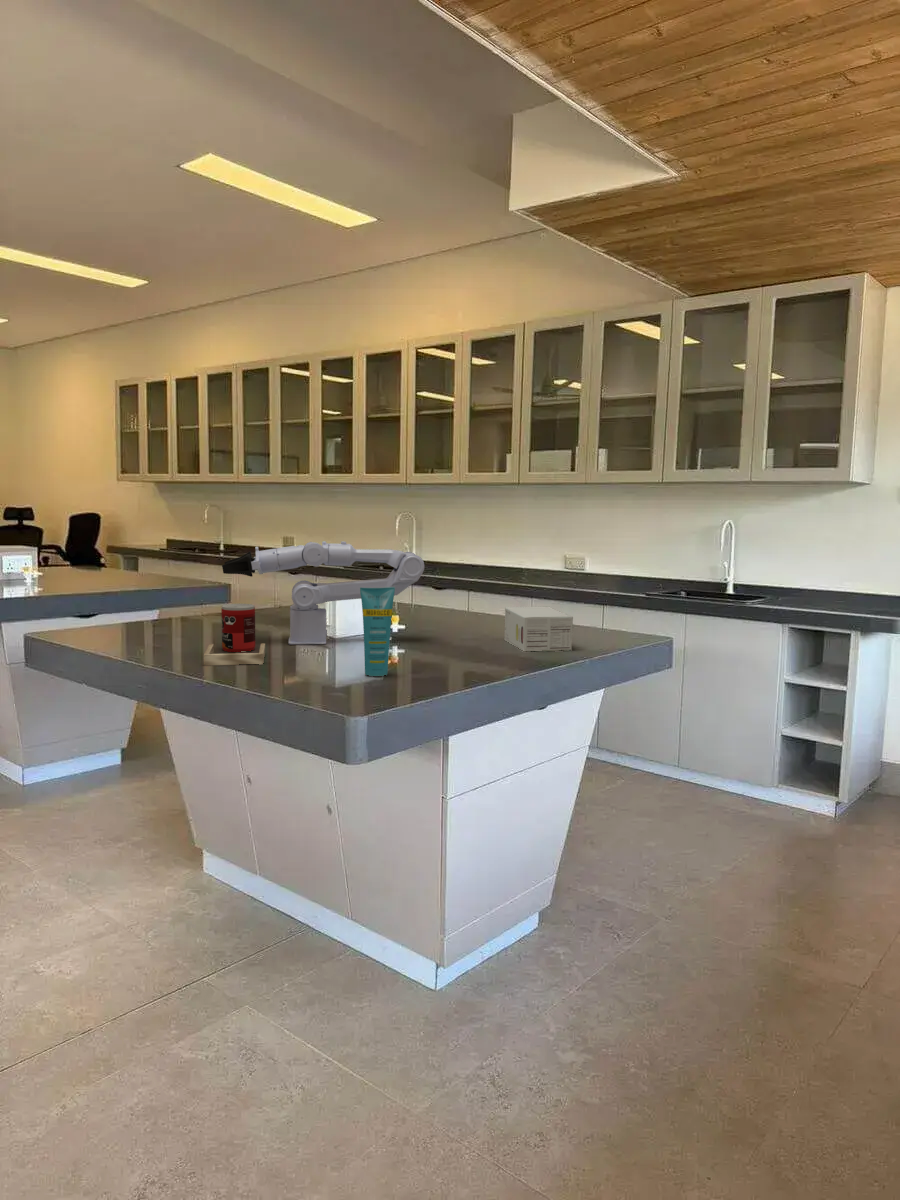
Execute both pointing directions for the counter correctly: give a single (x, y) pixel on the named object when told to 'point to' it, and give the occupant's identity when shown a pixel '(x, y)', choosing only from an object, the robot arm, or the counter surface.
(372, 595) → the tube
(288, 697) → the counter surface
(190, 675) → the counter surface
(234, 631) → the canned food
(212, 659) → the bracket
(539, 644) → the supplement box
